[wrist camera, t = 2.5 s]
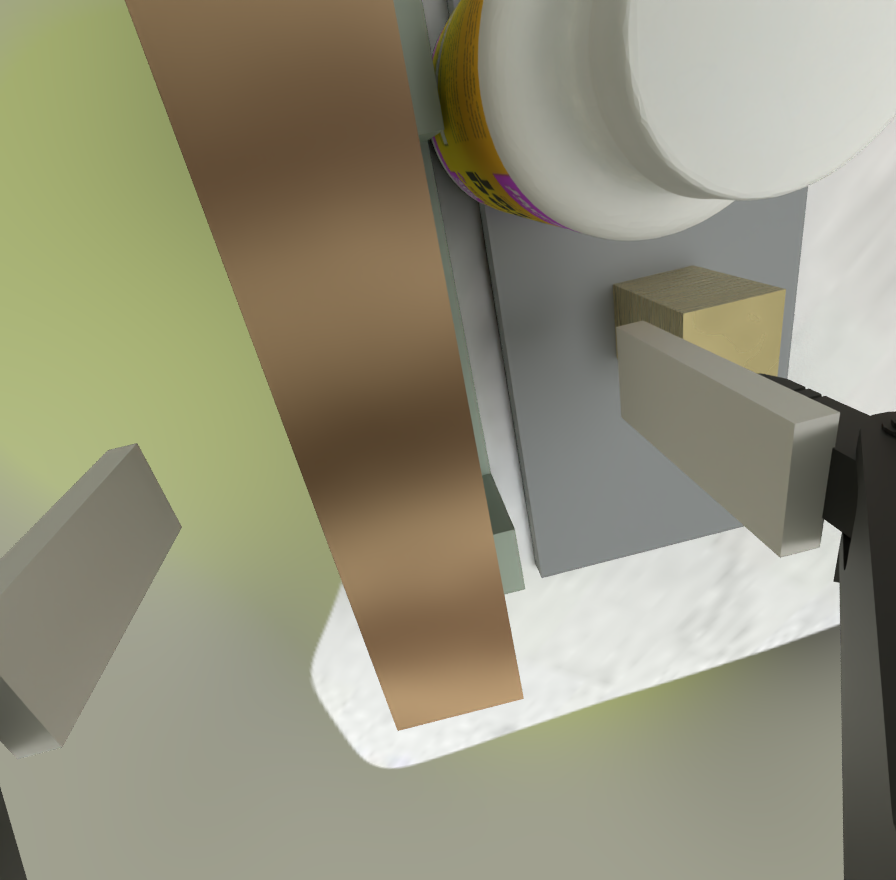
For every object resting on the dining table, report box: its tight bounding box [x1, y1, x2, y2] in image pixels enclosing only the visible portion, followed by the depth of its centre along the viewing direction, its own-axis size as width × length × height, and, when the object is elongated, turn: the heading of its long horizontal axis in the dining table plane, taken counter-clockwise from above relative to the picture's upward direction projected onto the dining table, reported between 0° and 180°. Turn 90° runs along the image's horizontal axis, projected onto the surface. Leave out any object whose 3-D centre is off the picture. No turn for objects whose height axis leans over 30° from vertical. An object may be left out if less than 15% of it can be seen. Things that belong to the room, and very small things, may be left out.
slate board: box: [447, 0, 808, 578], centre depth 21 cm, size 24×12×1 cm, turn 11°
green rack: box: [393, 0, 525, 594], centre depth 19 cm, size 19×6×5 cm, turn 11°
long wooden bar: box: [125, 0, 524, 731], centre depth 15 cm, size 22×4×4 cm, turn 11°
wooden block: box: [613, 265, 786, 376], centre depth 18 cm, size 3×3×5 cm
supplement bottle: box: [431, 0, 896, 241], centre depth 12 cm, size 7×7×13 cm
